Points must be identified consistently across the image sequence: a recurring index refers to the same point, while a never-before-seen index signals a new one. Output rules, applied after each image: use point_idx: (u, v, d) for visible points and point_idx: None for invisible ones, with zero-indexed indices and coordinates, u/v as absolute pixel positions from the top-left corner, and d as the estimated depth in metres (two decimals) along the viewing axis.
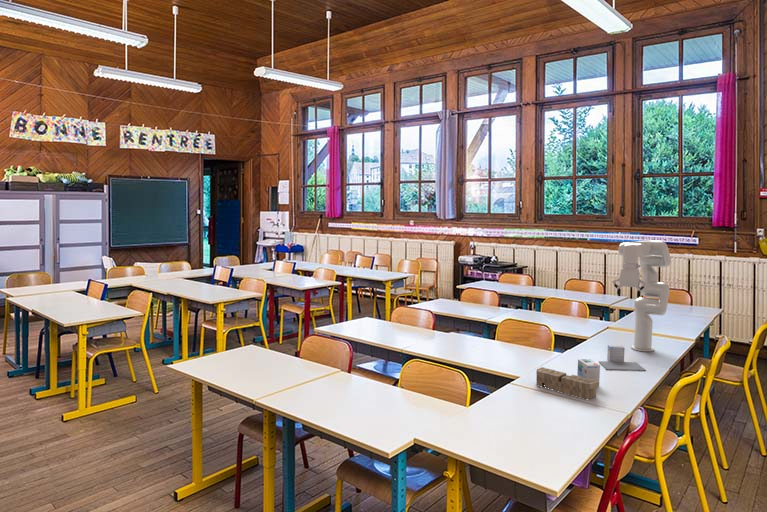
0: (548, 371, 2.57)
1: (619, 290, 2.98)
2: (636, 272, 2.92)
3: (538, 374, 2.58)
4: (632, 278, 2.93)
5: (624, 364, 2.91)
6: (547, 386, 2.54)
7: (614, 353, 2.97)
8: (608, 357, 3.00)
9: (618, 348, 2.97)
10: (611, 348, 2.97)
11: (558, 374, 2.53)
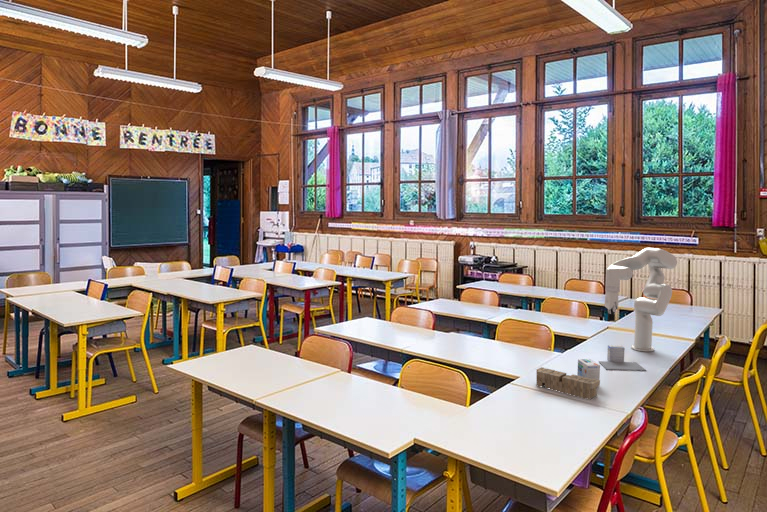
0: (548, 371, 2.57)
1: None
2: None
3: (538, 374, 2.57)
4: None
5: (624, 364, 2.91)
6: (547, 386, 2.54)
7: (614, 353, 2.97)
8: (608, 357, 3.00)
9: (618, 348, 2.97)
10: (611, 348, 2.97)
11: (558, 374, 2.53)
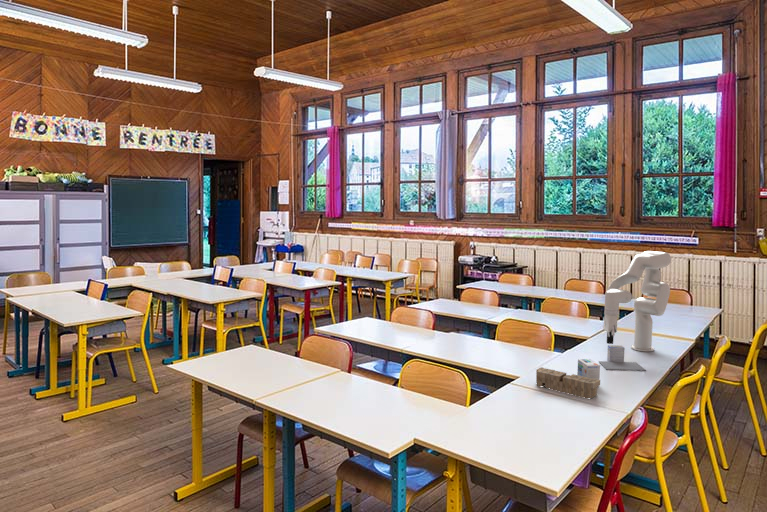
0: (548, 371, 2.57)
1: (612, 337, 3.08)
2: None
3: (538, 374, 2.57)
4: None
5: (624, 364, 2.91)
6: (548, 386, 2.54)
7: (614, 353, 2.97)
8: (608, 357, 3.00)
9: (618, 348, 2.97)
10: (611, 348, 2.97)
11: (559, 374, 2.53)
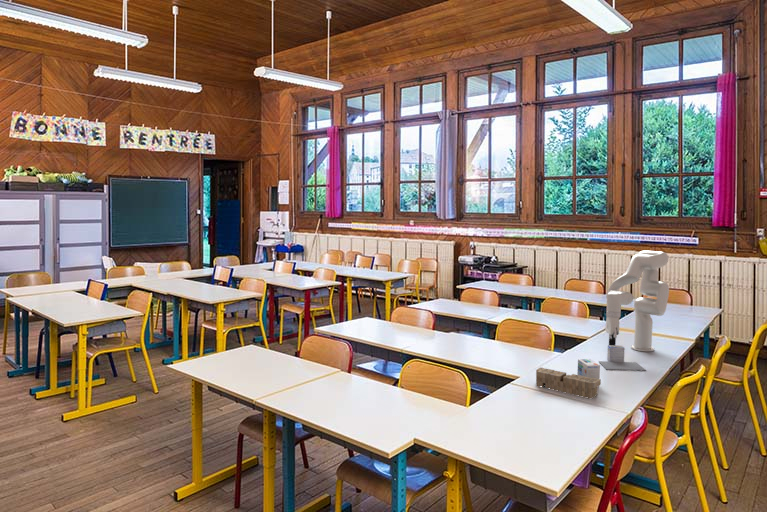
0: (548, 371, 2.57)
1: None
2: None
3: (538, 374, 2.57)
4: None
5: (624, 364, 2.91)
6: (548, 386, 2.54)
7: (614, 353, 2.97)
8: (608, 357, 3.00)
9: (618, 348, 2.97)
10: (611, 348, 2.97)
11: (559, 374, 2.53)
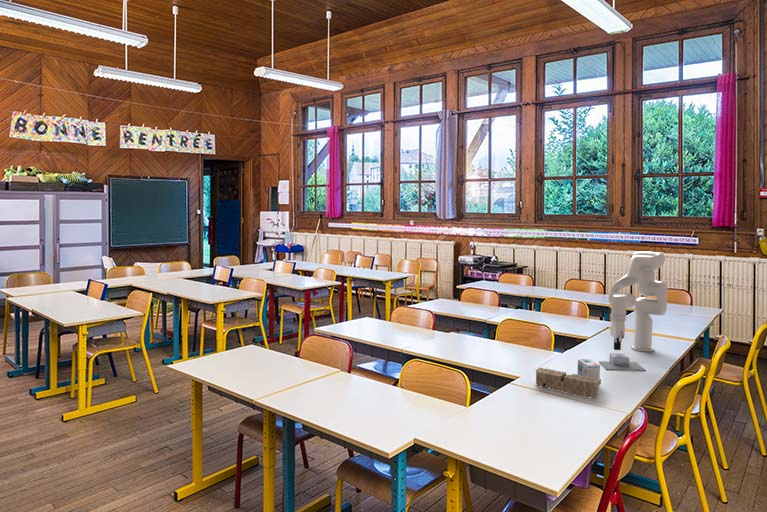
0: (548, 371, 2.57)
1: None
2: None
3: (539, 375, 2.57)
4: None
5: None
6: (548, 386, 2.54)
7: None
8: (610, 358, 2.96)
9: None
10: (615, 364, 2.90)
11: (559, 374, 2.53)
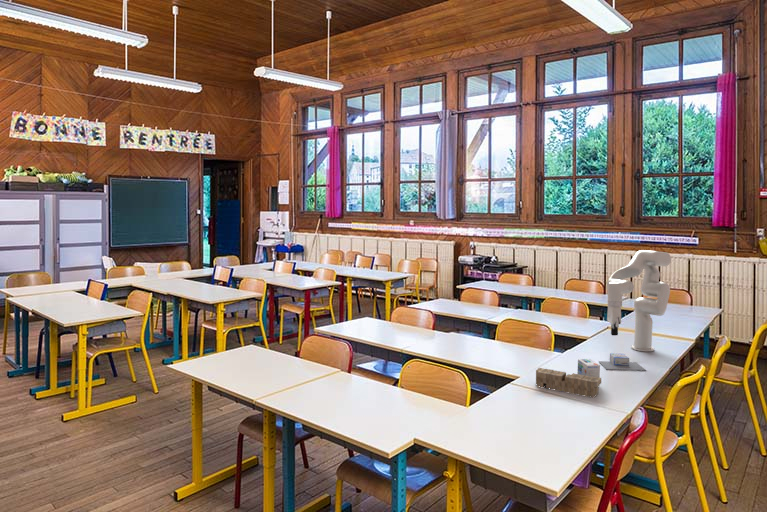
0: (548, 371, 2.57)
1: None
2: None
3: (539, 375, 2.56)
4: None
5: None
6: (549, 386, 2.54)
7: None
8: (610, 358, 2.96)
9: None
10: (615, 364, 2.90)
11: (560, 374, 2.53)
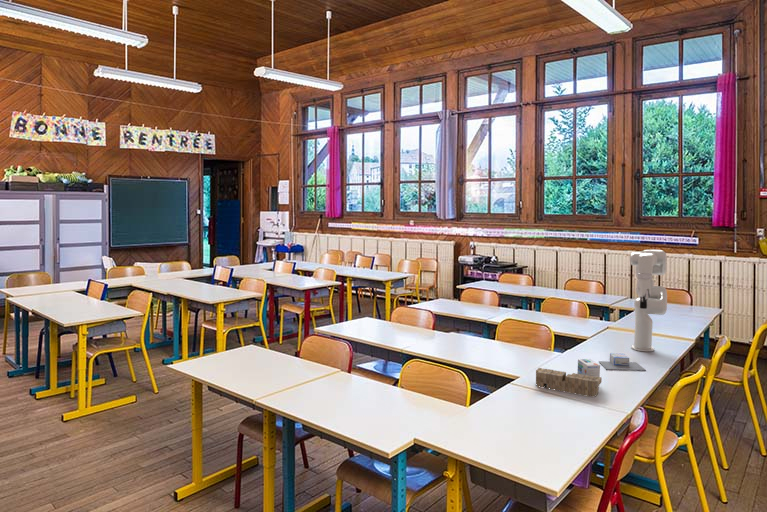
0: (548, 371, 2.57)
1: None
2: None
3: (539, 375, 2.56)
4: None
5: None
6: (549, 386, 2.54)
7: None
8: (610, 358, 2.96)
9: None
10: (615, 364, 2.90)
11: (560, 374, 2.54)
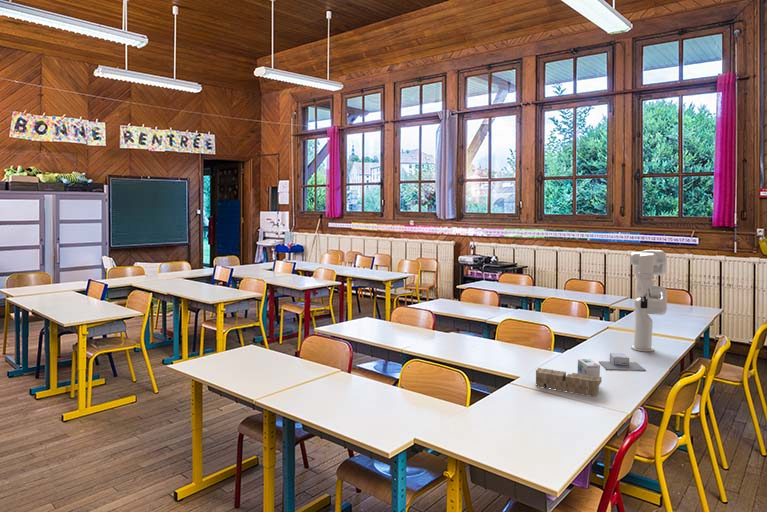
0: (548, 371, 2.57)
1: None
2: None
3: (539, 375, 2.56)
4: None
5: None
6: (550, 387, 2.54)
7: None
8: (610, 358, 2.96)
9: None
10: (615, 364, 2.90)
11: (560, 373, 2.54)
